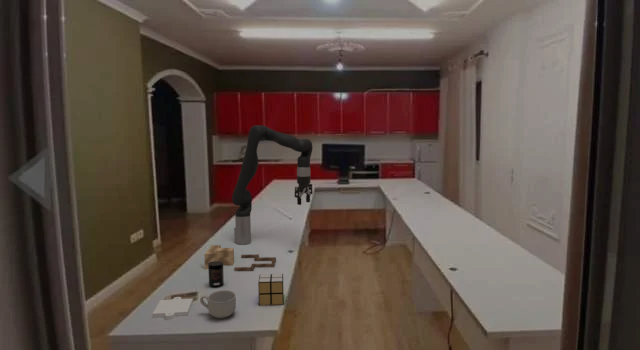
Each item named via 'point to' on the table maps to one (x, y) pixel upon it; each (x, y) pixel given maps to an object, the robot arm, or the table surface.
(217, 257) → the T block
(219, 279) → the supplement container
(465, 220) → the table surface
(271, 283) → the puzzle cube
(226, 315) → the teacup
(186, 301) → the mounting plate
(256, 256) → the T outline
